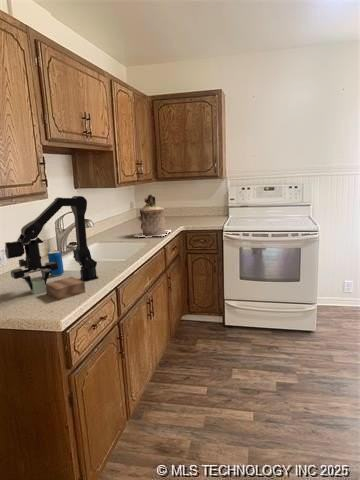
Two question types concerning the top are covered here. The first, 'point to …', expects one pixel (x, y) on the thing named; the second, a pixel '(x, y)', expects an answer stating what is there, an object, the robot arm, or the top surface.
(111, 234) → the top surface
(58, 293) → the walnut block
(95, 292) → the top surface
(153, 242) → the top surface
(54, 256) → the beverage can
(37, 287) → the sage green block
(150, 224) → the cookie jar
